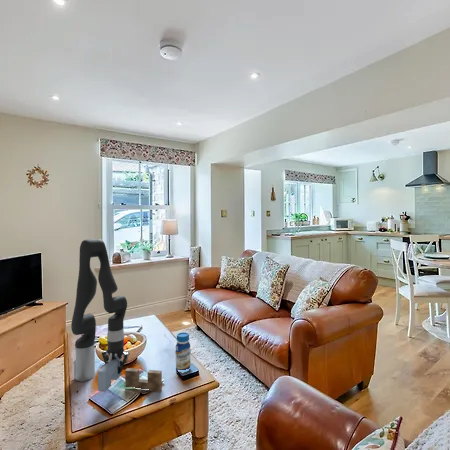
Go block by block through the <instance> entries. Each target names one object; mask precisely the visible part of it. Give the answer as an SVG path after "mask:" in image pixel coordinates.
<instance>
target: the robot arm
mask: <svg viewBox="0 0 450 450" xmlns="http://www.w3.org/2000/svg"><path fill="white" fill-rule="evenodd" d="M91 258H98V260H99V264H100V266H99V271H98V275H97V276H98V278H97V277H96V275H95V274H94V272H93V270H92V268H91ZM78 265H79V268H78V279H77V285H76V295H75V296H76V297H75V304H74V310H73V315H72V319H71V331H72V334H73V335H74V336H80V335H81V336H80V337H78V338H77V339H76V340H75V343H74V344H75V346H74V347H75V351H74V352H75V354H74V356H75V360H74V361H73V379H74V380H75V381H77V382H80V383H81V382H87V381H90V380H92V379H93V378H94V377H95V375H96V364H95V363H96V361H95V360H96V359H95V358H96V356H95V353H96V352H95V340H96V332H97V331H96V328H97V321H96V317H95V316H94V314H93V313H87V314H85V312H86V309H87V308H88V307H89V304H90V303H91V302H92V300H94V298H95V295H96V293H97V285H98V283H99V287H100V290H101V291H102V299H103V309H104V311H105V312H106V313H107V314H113V315H111V316H109V317H108V320H107V341H106V342H107V346H106V347H107V350H106V349H105V350H103V351H102V352H101V356H102V359H103V361H104V364H105V365H106V364H107V363H108V362H109V361H110V360H112V359H116V361H117V362H118V374H120V373H121V374H122V372H123V366H125V364H127V361H128V360H129V356H130V352H126V351H125V349H124V347H125V331H124V319H125V316H126V312H127V309H128V300H127V298H126V297H125V295H117V296H113V294H114V293H116V292H117V291H118V285H117V282H116V280H115V278H114V275H113V272H112V269H111V264H110V258H109V255H108V250H107V246H106V243H105V242H104V241H103V239H100V238H93V239H84V240H82V241H81V243H80V247H79V264H78ZM97 279H98V280H97ZM119 358H120V359H119Z"/></svg>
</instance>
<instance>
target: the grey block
mask: <svg viewBox="0 0 450 450" xmlns="http://www.w3.org/2000/svg"><path fill="white" fill-rule="evenodd" d="M119 359H120V358H119ZM121 376H122V372H121V373H120V374H118V362H117V361H116V359H112V360H110V361H109V362H108V363H107V364H105V365H104V366H102V367H100V369H99V370H98V371H97V391H98V392H103V393H105V392H107V391H108V390H109V389H110V387H111V386H112V381H117V380H118V379H119V378H120V377H121Z"/></svg>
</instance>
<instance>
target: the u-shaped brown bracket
mask: <svg viewBox="0 0 450 450" xmlns="http://www.w3.org/2000/svg"><path fill="white" fill-rule="evenodd" d="M162 371H163V370H154V369H149V370H148V371H147V379H145V378H144V379H143V378H140V368H132V367H130V368H129V367H127V368H126V369H125V370H124V383H125V385H124V386H125V387H135V388H141V389H149V390H150V391H149V392H157V393H161V391H162V389H163V384H162V383H163V381H162V380H163V375H162ZM125 387H124V388H125Z"/></svg>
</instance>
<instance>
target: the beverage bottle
mask: <svg viewBox="0 0 450 450" xmlns="http://www.w3.org/2000/svg"><path fill="white" fill-rule="evenodd" d="M189 341H190V334H189V333H188V332H186V331H185V332H184V331H183V332H178V333H177V334H176V342H177V343H176V344H175V371H177V370H186V369H189V368H190V366H192V365H191V359H192V358H191V357H192V356H191V352H192V351H191V343H190V342H189Z"/></svg>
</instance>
